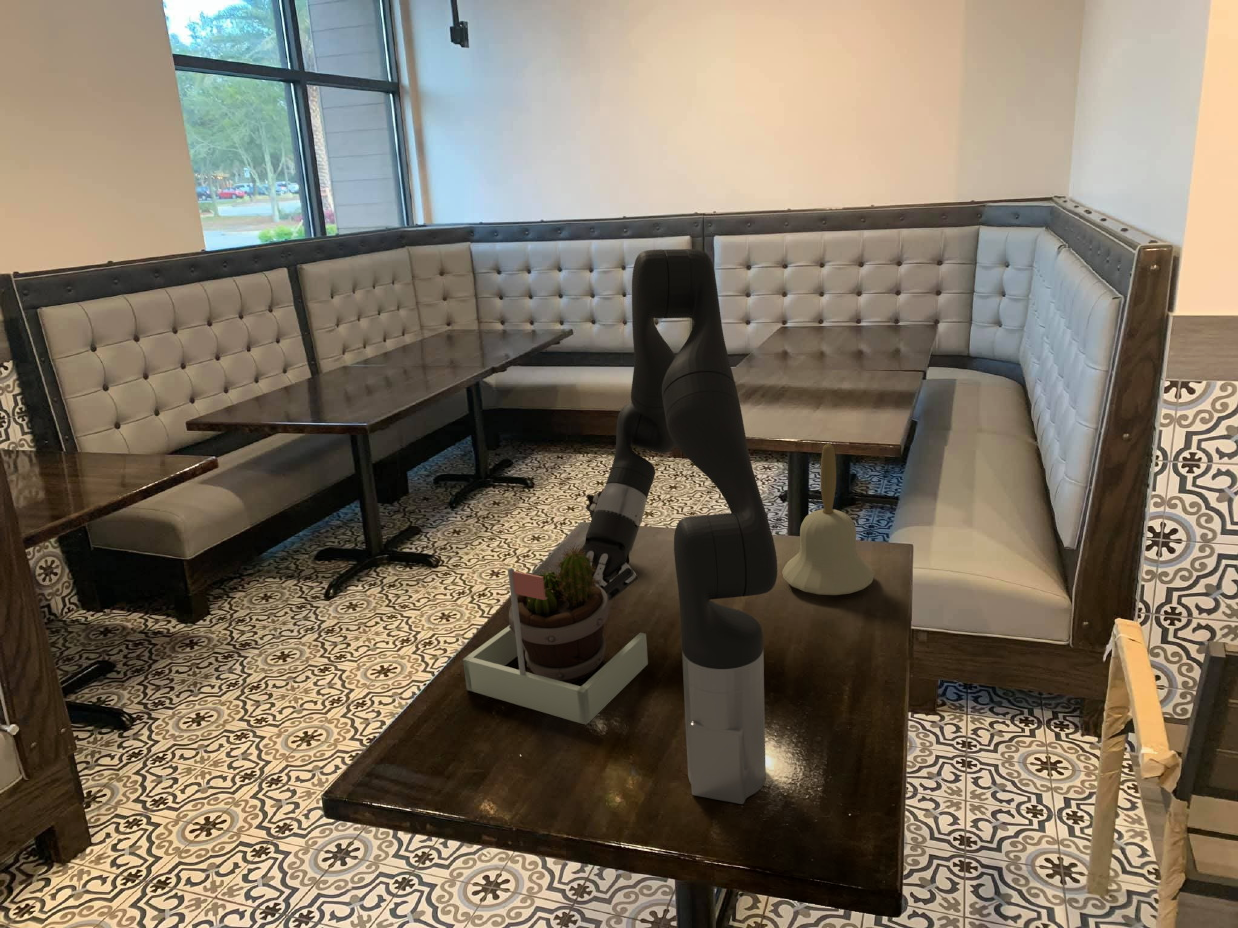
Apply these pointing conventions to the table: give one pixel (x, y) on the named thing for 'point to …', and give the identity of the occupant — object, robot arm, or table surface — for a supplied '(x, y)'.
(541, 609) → the flowerpot
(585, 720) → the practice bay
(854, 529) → the handbell
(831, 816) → the table surface
